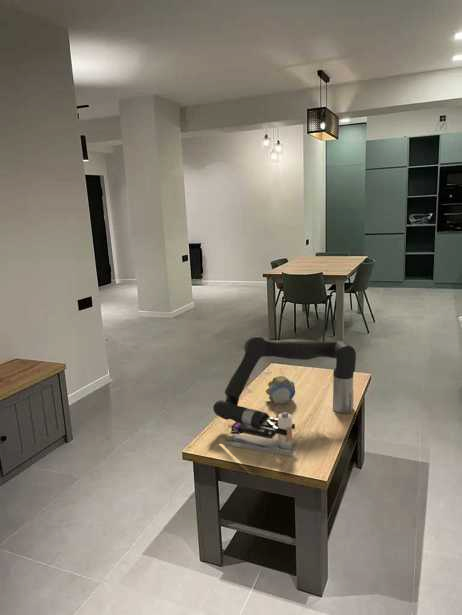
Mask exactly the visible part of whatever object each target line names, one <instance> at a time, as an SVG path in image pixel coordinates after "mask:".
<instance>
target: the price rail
mask: <svg viewBox="0 0 462 615" xmlns="http://www.w3.org/2000/svg"><path fill="white" fill-rule="evenodd" d="M224 445H225V446H227V445H229V446H228V447H232V446H235V447H234V448H238V447H240V448H239V449H244V448H246V450H249V449H251V450H250V451H255V450H257V451H256V452H260V451H263V452H262V453H266V452H268V453H267V454H272V453H274V455H277V454H279V455H278V456H283V455H285V457H288V456H293V455H292V450H287V449H281V448H275V447H269V446H263V445H258V444H252V443H246V442H240V441H235V440H230V439H228V438H225V441H224Z"/></svg>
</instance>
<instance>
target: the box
mask: <svg viewBox="0 0 462 615" xmlns="http://www.w3.org/2000/svg"><path fill="white" fill-rule="evenodd" d="M230 429H231V431H230V432H232V431H234V432H233V433H236V432H240V433H239V434H244V433H250V434H253V435H258V436H263V437H267V438H273V437H274V436H275V434H274V435H273V436H272V435H267V434H263V433H260V430H257V429H254V428H251V427H248V426H246V425H243V424H240V423H237V422H235V421H234V423H233V424H232V425H231V426H230ZM269 432H270V431H269ZM270 433H271V432H270Z"/></svg>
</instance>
